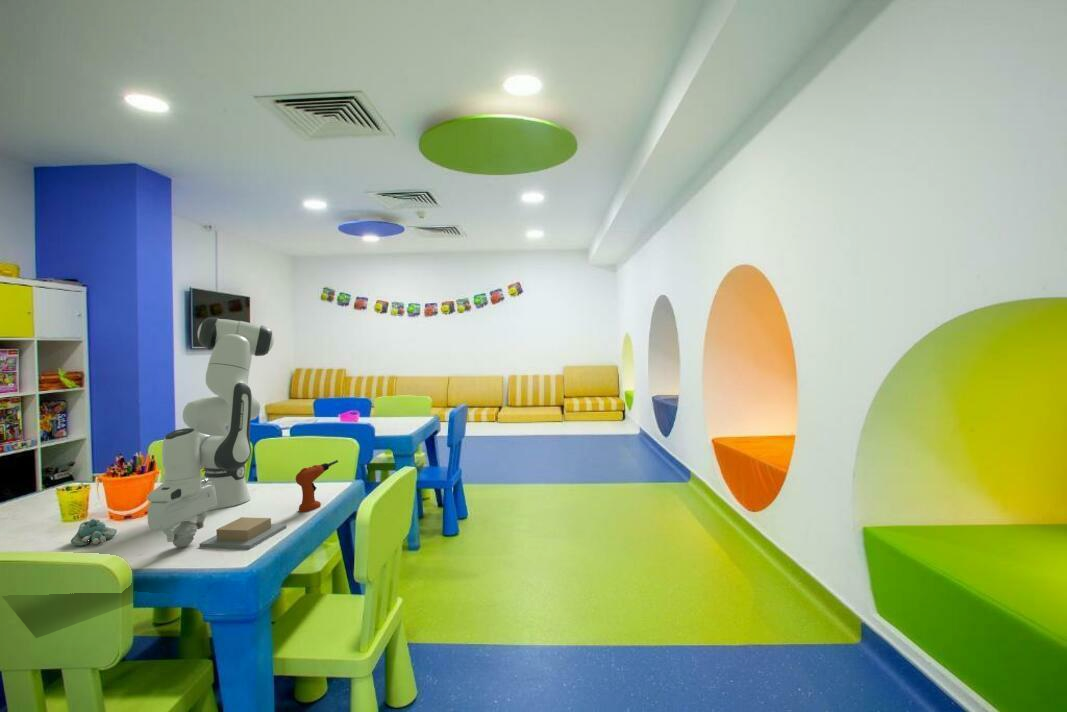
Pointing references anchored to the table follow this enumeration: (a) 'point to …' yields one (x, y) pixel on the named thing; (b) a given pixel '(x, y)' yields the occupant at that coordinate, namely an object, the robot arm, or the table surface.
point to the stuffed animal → (92, 533)
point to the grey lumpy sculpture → (184, 533)
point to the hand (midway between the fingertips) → (186, 534)
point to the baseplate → (243, 543)
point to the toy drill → (310, 485)
